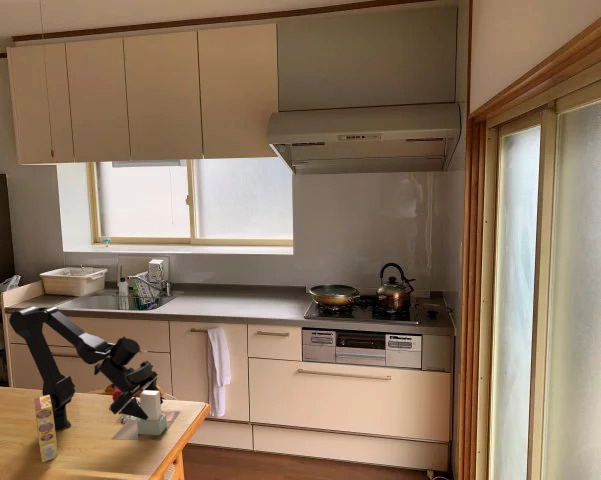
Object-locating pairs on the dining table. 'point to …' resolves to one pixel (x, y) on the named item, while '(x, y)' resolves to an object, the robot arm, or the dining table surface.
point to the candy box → (46, 428)
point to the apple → (115, 395)
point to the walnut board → (131, 433)
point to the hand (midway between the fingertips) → (155, 410)
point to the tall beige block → (151, 404)
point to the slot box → (152, 426)
